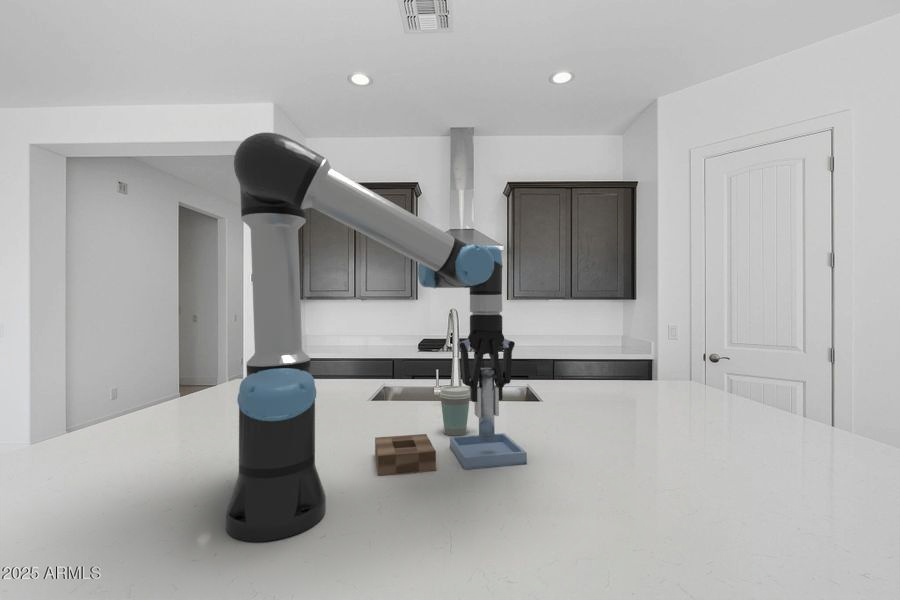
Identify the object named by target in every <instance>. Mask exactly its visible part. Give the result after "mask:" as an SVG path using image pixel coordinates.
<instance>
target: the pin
mask: <svg viewBox="0 0 900 600" xmlns="http://www.w3.org/2000/svg"><path fill="white" fill-rule="evenodd" d="M494 375H495V369H493V368H492V367H481V369H480V375H479V381H478V387H479V388H481V417H478V435H479V440H480V441H483V442H491V441H494V440H495V434H496V433H495V432H496V431H495V426H496V425H495V415H494V385H495V381H494Z"/></svg>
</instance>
